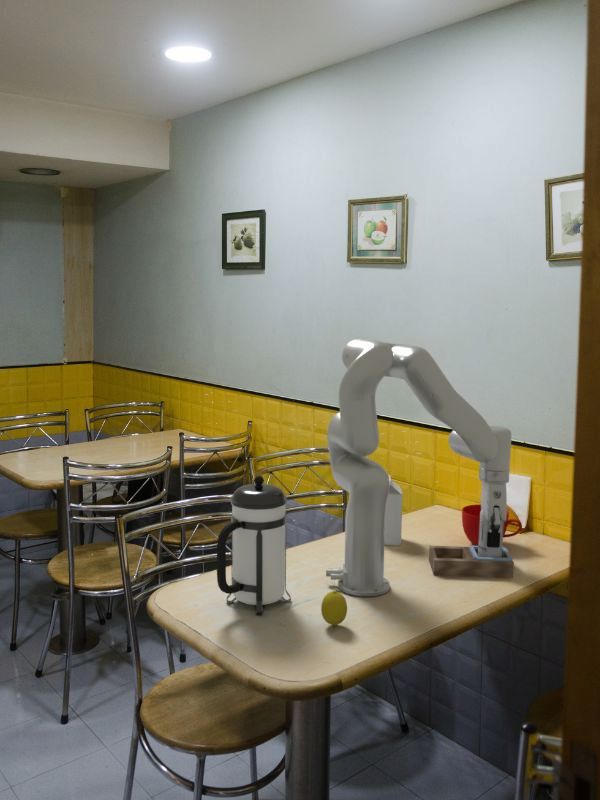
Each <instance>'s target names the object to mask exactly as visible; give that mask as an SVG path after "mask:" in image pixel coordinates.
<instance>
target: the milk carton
mask: <svg viewBox="0 0 600 800" xmlns="http://www.w3.org/2000/svg"><path fill="white" fill-rule="evenodd" d="M388 477H389V482H390V486H389V493H388V497H387V502H386V511H385V542H384V546H397V547H398V546H401V547H402V526H403V525H402V524H403V523H402V520H403V519H402V518H403V489H402V488H401V487H400V486H399V485H398V484H397V482H395V481H394V480H393V479H391V475H390V474H388Z"/></svg>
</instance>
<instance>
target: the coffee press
mask: <svg viewBox="0 0 600 800" xmlns="http://www.w3.org/2000/svg"><path fill="white" fill-rule="evenodd" d="M264 481H265V479H264V477H263V476H262V475H256V476H255V477H254V479H253V482H254V483H251V484H250V483H249V484H245V485H242V486H240V487H238V488H237V489H236V490H234V492H233V494H232V496H231V497H230V504H231V506H232V507H231V509H232V511H231V515H230V518H231V522H229V523H226V525H224V527H223V528H222V529H221V531H220V532H219V536H218V538H217V543H216V545H217V546H216V580H217V581H216V582H217V586H218V588H219V589H220V591H221V592H223V593H225V594H228V595H227V596H226V599H225V600H226V604H229V605H231V604H233V603H234V602H235V601H239V602H241V603H243V604H246V605H251V606H256V608H255V613H256V616H257V615H259V616H261V615H263V606H264V605H270V604H273V603H275V602H279V601H280V600H283V601H284V602H285V603H290V602H291V600H292V597H291V594H290V593H289V592H288V590H287V513H286V505H287V502H288V496H286V495H285V492H284V490H283V489H282V488H280V487H278V486H276V485H273V484H268V483H264ZM230 534H231V538H230V539H231V543H230V544H231V554H232V576H231V584H230V585H229V584H228V583H227V569H226V568H227V554H226V553H227V540H228V538H229V535H230ZM285 593H286V595H287V596H288V597H289V598H288V599H286V598H285V597H284V595H285ZM232 595H233V596H234V598H233V599H232V600H228V599H229V598H231V596H232Z"/></svg>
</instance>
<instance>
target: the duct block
mask: <svg viewBox="0 0 600 800" xmlns="http://www.w3.org/2000/svg"><path fill="white" fill-rule="evenodd" d="M513 559H514V558H513V556H512V554H511V553H510V552H509V550H508V548H507V547H505V546H503V545H502V558H495V557H478V546H474V545H470V546H457V545H455V546H454V545H453V546H450V545H449V546H448V545H447V546H446V545H429V546H428V562H429V566H430V569H431V572H432V575H433V576H438V575H442V576H441V577H472V578H473V577H474V578H475V577H477V578H479V577H481V578H503V579H505V578H507V579H508V578H509V579H510V578H512V579H513V578H514V574H515V573H514V569H515V562H514V560H513Z"/></svg>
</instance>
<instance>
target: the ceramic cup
mask: <svg viewBox="0 0 600 800" xmlns="http://www.w3.org/2000/svg"><path fill="white" fill-rule="evenodd" d="M480 511H481V504H471V505H470V504H469V505H466V506H465V505H464V507H463V508H461V522H462V529H463V532H464V534H465V536H466V539H468V541H469V542H470V543H471V546H478V545H479V525H480ZM509 515H510V514H509V511H508V510H507V511H506V521H505V522H504V527H503V539H504V538H511V537H515V536H516V535H518V534H519V533H520V532H521V531H522V527H523V524H522V522H521V521H520V520H519V519H517V518H511V519H509ZM511 523H517V524H518V529H517V530H516V531H514V532H512V533H507V534H506V532H507V529H508V526H509V525H510V524H511Z"/></svg>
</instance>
